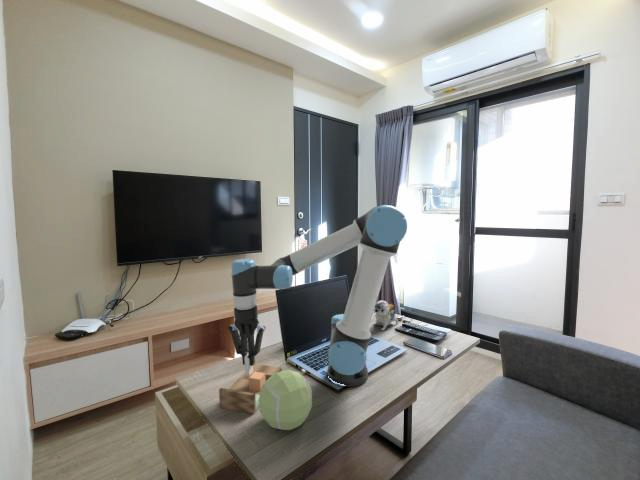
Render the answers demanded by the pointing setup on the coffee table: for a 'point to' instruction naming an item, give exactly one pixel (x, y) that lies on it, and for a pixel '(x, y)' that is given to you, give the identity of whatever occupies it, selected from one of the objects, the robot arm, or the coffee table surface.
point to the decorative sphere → (285, 400)
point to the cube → (257, 381)
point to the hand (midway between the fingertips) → (249, 373)
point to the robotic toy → (384, 314)
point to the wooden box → (245, 391)
